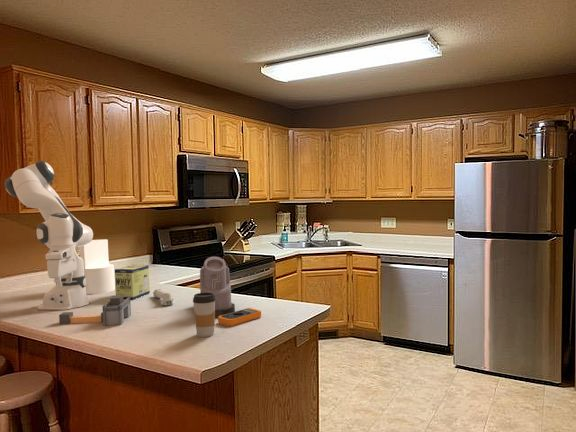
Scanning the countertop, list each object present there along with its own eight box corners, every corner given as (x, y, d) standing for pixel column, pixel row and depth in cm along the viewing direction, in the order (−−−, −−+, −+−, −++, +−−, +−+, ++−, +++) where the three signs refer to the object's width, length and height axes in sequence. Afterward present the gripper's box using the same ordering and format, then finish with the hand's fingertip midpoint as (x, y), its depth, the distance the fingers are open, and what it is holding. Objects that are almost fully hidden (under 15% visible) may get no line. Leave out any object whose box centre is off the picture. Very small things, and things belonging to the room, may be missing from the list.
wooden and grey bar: (59, 324, 186) (58, 315, 186) (63, 321, 191) (63, 312, 191) (117, 321, 188) (116, 312, 188) (120, 318, 193) (120, 309, 192)
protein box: (115, 299, 230) (113, 269, 229) (133, 292, 245) (132, 264, 244) (133, 300, 227) (131, 269, 226) (150, 293, 242) (149, 264, 241)
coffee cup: (195, 331, 171) (194, 292, 171) (217, 330, 172) (216, 291, 171) (192, 338, 163) (191, 297, 162) (216, 337, 164) (214, 296, 163)
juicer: (237, 316, 191) (235, 259, 190) (199, 320, 187) (197, 262, 186) (228, 300, 220) (227, 251, 219) (195, 303, 216) (193, 253, 215)
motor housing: (103, 325, 183) (102, 301, 182) (114, 315, 198) (113, 293, 197) (121, 324, 183) (119, 300, 183) (131, 315, 198) (129, 292, 198)
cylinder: (74, 293, 248) (71, 242, 247) (98, 286, 264) (96, 239, 263) (98, 294, 242) (96, 243, 240) (121, 288, 258) (119, 239, 256)
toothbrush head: (161, 288, 236) (173, 290, 214) (162, 301, 235) (174, 304, 213) (151, 289, 233) (162, 291, 211) (152, 302, 233) (163, 306, 211)
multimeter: (215, 324, 181) (215, 315, 181) (248, 314, 195) (248, 306, 194) (229, 328, 176) (229, 319, 175) (262, 318, 189) (262, 309, 189)
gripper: (65, 249, 197) (67, 281, 198) (43, 255, 177) (45, 290, 178) (79, 249, 198) (81, 280, 198) (59, 255, 177) (62, 289, 178)
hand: (64, 285), depth 188 cm, fingers open, 8 cm apart
